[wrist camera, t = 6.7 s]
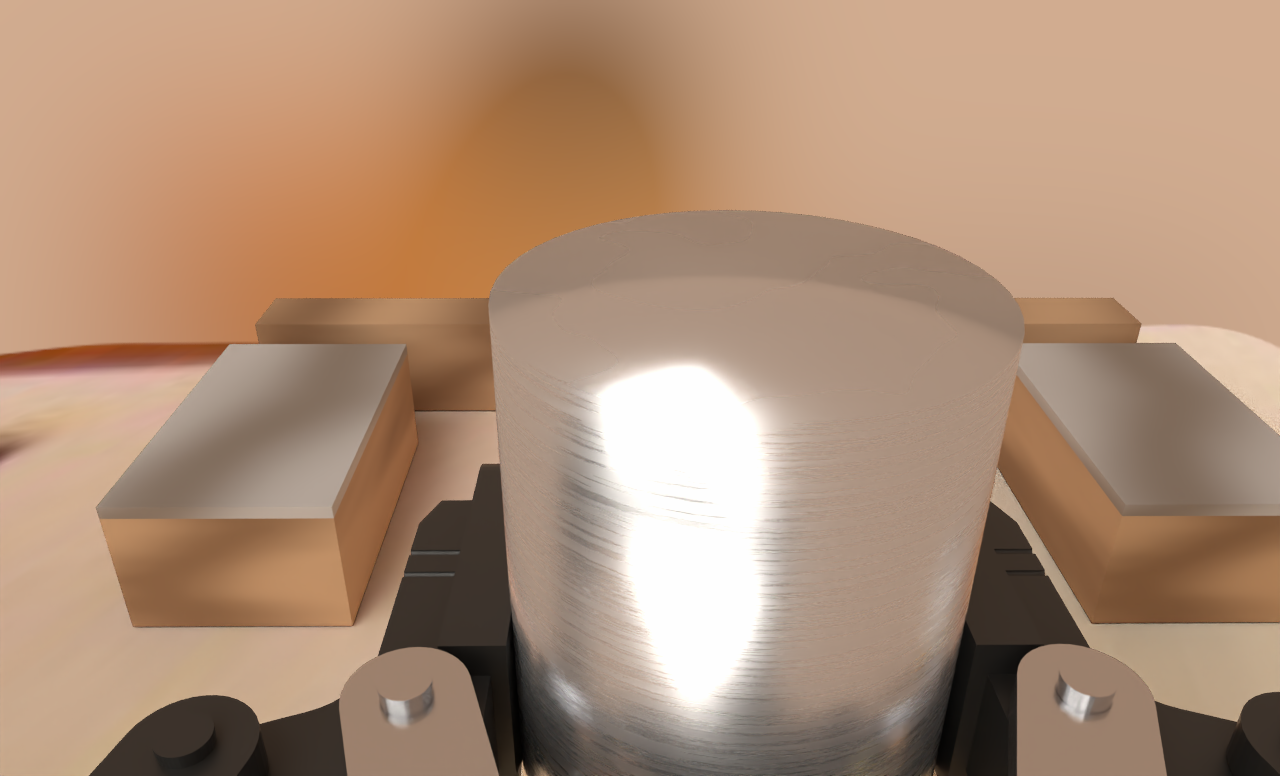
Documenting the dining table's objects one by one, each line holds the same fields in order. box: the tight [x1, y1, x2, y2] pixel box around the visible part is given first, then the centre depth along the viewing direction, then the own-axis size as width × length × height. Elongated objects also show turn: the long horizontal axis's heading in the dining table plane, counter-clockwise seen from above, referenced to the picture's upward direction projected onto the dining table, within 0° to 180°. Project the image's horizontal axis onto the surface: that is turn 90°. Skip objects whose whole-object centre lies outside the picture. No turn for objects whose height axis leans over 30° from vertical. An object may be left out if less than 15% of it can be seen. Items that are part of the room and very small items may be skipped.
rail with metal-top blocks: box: [96, 298, 1280, 627], centre depth 27 cm, size 27×12×3 cm, turn 91°
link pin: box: [488, 210, 1025, 776], centre depth 12 cm, size 5×5×12 cm
